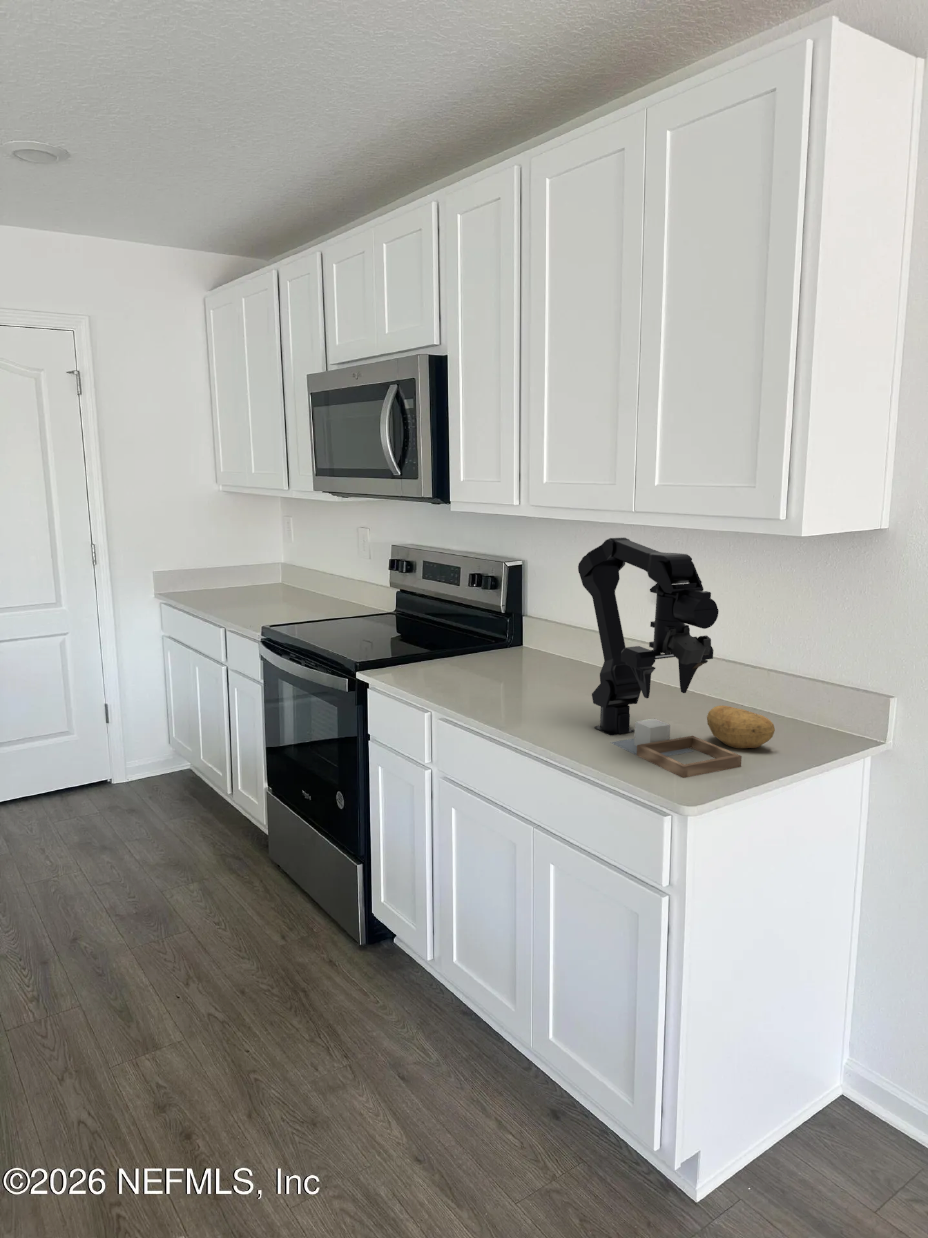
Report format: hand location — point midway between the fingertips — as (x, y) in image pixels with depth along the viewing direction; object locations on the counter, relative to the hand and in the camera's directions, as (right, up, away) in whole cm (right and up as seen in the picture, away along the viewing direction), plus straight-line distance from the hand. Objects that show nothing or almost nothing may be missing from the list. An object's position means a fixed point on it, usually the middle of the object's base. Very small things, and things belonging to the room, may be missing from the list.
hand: (665, 695), depth 172 cm
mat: (-2, -11, +5) cm, 13 cm away
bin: (+4, -13, -3) cm, 14 cm away
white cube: (-2, -11, +5) cm, 12 cm away
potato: (+17, -11, +6) cm, 21 cm away
